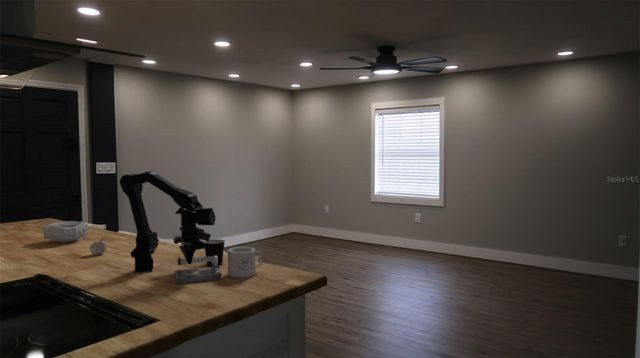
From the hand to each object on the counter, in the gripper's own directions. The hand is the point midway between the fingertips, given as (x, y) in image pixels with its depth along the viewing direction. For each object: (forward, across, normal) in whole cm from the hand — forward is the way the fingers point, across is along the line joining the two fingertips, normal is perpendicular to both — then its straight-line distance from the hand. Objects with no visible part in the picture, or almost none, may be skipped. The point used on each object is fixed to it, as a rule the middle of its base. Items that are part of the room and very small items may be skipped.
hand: (189, 264), depth 174 cm
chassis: (+4, -7, 0) cm, 8 cm away
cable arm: (+3, +1, -4) cm, 5 cm away
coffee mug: (+4, +8, -14) cm, 17 cm away
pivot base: (+4, -1, -10) cm, 11 cm away
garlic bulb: (+3, +56, +23) cm, 60 cm away
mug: (+4, -14, -17) cm, 22 cm away
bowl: (+2, +97, +30) cm, 101 cm away
